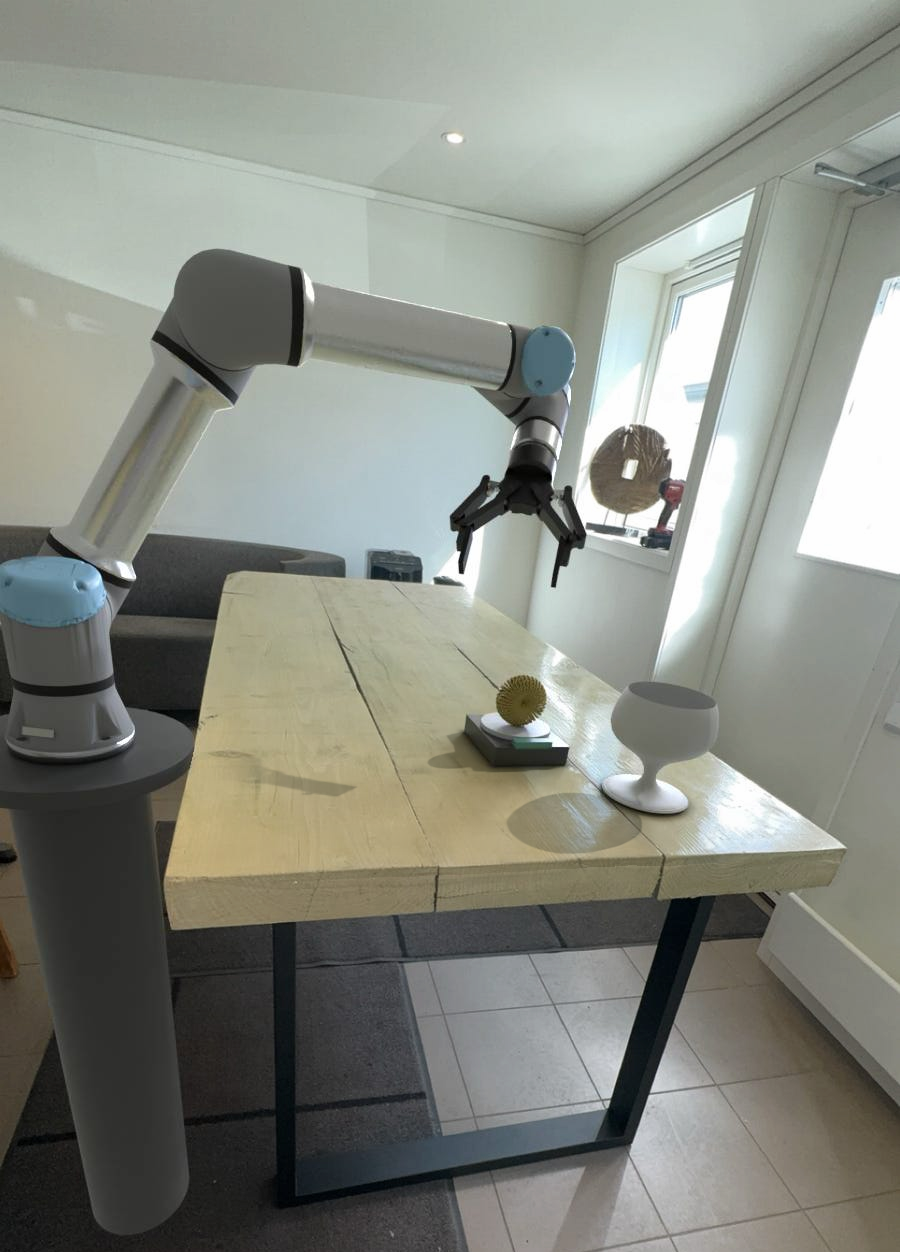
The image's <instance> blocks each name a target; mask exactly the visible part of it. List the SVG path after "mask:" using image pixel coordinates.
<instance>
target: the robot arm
mask: <svg viewBox="0 0 900 1252" xmlns="http://www.w3.org/2000/svg"><path fill="white" fill-rule="evenodd" d="M149 346H150V349H151V352H152V357H153V366H152V368H151V370H150V372H149V373H148V375H147V377H146V379H145V381H144V382H143V385H142V387H141V389H140V390H139V392H138V394H137V395H136V398H135V400H134V402H133V403H132V405H131V407H130V409H129V411H128V412H127V415H126V416H125V418H124V420H123V422H122V424H121V426H120V428H119V430H118V431H117V433H116V435H115V437H114V438H113V440H112V442H111V445H110V447H109V448H108V450H107V452H106V454H105V456H104V457H103V460H102V461H101V463H100V465H99V467H98V468H97V471H96V473H95V475H94V477H93V478H92V480H91V482H90V484H89V486H88V488H87V489H86V491H85V494H84V495H83V497H82V498H81V501H80V502H79V505H78V506H77V508H76V510H75V512H74V514H73V516H72V518H71V520H70V522H69V523H68V524H66V525H61V526H56V527H51V529H50V530H49V532H48V534H47V536H46V538H45V540H44V542H43V543H42V545H41V547H40V549H39V551H38V553H37V555H31V556H23V557H20V558H18V559H17V558H13V559H10V560H7V561H6V560H5V561H4V562H2V563H1V564H0V628H1V632H2V633H1V634H2V638H3V639H2V640H3V643H4V649H5V653H6V654H5V655H6V659H7V664H8V669H9V675H10V679H11V685H12V700H11V703H10V709H9V713H8V714H9V718H8V723H7V728H6V734H5V738H6V743H7V748H8V751H9V753H10V754H11V755H12V756H14V757H15V758H17V759H20V760H22V761H26V762H30V763H35V764H41V765H57V766H64V765H80V764H88V763H94V762H99V761H103V760H107V759H110V758H113V757H116V756H118V755H121V754H123V753H125V752H126V751H128V750H129V749H131V748H132V747H133V745H134V744H135V741H136V738H135V728H134V725H133V723H132V721H131V719H130V717H129V715H128V713H127V711H126V709H125V707H126V706H125V705H124V703H123V701H122V699H121V696H120V695H119V692H118V690H117V687H116V682H115V675H114V674H115V673H114V665H113V655H112V649H111V639H110V630H111V627H112V625H113V621H114V620H115V617H116V615H117V614H118V612H119V610H120V608H121V606H122V605H123V603H124V601H125V600H126V598H127V596H128V595H129V592H130V590H131V588H133V585H134V583H135V581H137V580H136V579H137V576H136V573H135V570H134V567H133V561H134V559H135V557H136V555H137V554H138V551H139V550H140V548H141V546H142V544H144V543H143V542H144V541H145V540H146V537H147V535H148V534H149V532H150V530H151V529H152V527H153V525H154V523H155V521H156V520H157V518H158V516H159V514H160V513H161V511H162V509H163V507H164V505H165V503H166V502H167V500H168V499H169V496H170V495H171V493H172V491H173V489H174V488H175V485H176V484H177V482H178V480H179V479H180V477H181V475H182V473H183V472H184V470H185V468H186V466H187V464H188V462H189V461H190V459H191V457H192V455H193V454H194V452H195V450H196V448H197V446H198V445H199V442H201V440H202V437H203V435H204V434H205V433H206V431H207V429H208V427H209V425H210V423H211V421H212V420H213V418H214V416H215V414H216V413H217V412H219V411H224V410H230V409H233V408H234V407H235V405H236V403H237V401H238V400H239V398H240V396H241V394H242V392H243V391H244V389H245V388H246V386H247V384H248V382H249V381H250V379H251V377H252V375H253V373H254V372H255V370H256V368H257V366H263V365H278V366H279V365H280V366H289V367H295V368H301V367H302V366H303V365H304V364H305V363H306V362H307V361H309V360H312V361H317V362H323V363H328V364H334V365H335V364H336V365H341V366H348V367H354V368H359V369H366V370H371V371H377V372H378V371H379V372H384V373H390V374H394V375H395V374H396V375H400V376H401V375H402V376H408V377H412V378H413V377H414V378H420V379H425V380H426V379H427V380H431V381H439V382H445V383H450V384H455V385H462V386H468V387H470V388H472V389H474V390H475V391H476V392H477V393H478V394H479V395H481V396H482V397H483V398H484V399H485V400H486V401H487V402H488V403H489V404H491V406H493V407H494V408H495V409H497V410H498V411H499V412H500V413H501V414H502V415H503V416H504V417H505V418H507V419H508V420H509V421H510V422H511V423H512V424H513V425H514V426H515V430H514V434H513V438H512V442H511V446H510V450H509V456H508V459H507V462H506V463H507V464H506V467H505V472H504V477H503V478H502V479H501V480H500V481H495V480H491V476H490V475H489V474H484V475H482V477H481V479H480V482H479V484H478V486H477V487H475V488H474V490H473V491H472V492H471V493H470V494H469V495H468V496H467V497H466V498H465V499H464V500H463V501H462V502H461V503H460V504H459V505H458V506H457V507H456V508H455V510H454V511H452V513H451V514H450V515H449V527H450V531H451V532H457V537H456V540H455V548H456V552H459V555H458V560H457V566H458V567H457V568H458V575H465V572H466V567H467V564H468V560H469V555H470V551H471V548H472V544H473V540H474V538H473V537H474V536H473V534H474V533H475V532H476V531H478V530H479V529H481V528H482V527H484V526H485V525H487V524H488V523H490V522H491V521H493V520H494V519H496V518H498V517H499V516H500V517H502V516H504V515H505V514H506V513H508V512H511V514H514V515H518V514H523V515H525V516H531V517H532V516H533V515H536V517H537V518H538V520H539V521H540V522H543V523H544V525H545V526H546V527H547V529H548V530H549V531H550V533H551V534H552V535H553V537H554V539H555V540H556V541H557V544H558V545H557V549H556V555H555V560H554V564H553V569H552V575H551V581H550V582H551V583H550V588H554V589H556V588H557V584H558V580H559V575H560V569H561V567H562V568H563V567H564V568H567V567H568V566H569V564H570V559H571V553H572V550H573V549H578V550H583V549H585V546H586V542H587V541H586V540H587V536H588V535H587V534H588V533H587V531H586V528H585V526H584V524H583V521H582V519H581V517H580V514H579V512H578V509H577V506H576V504H575V501H574V499H573V487H572V486H571V485H565V486H564V487H563V489H555V488H554V486H553V485H554V481H555V477H556V471H557V466H558V462H559V458H560V452H561V448H562V442H563V438H564V434H565V429H566V425H567V421H568V418H569V414H570V410H571V409H570V408H571V407H570V406H571V405H570V404H571V387H570V385H569V381H570V380H571V378H572V376H573V373H574V370H575V365H576V364H575V363H576V350H575V347H574V343H573V341H572V339H571V337H570V336H569V335H568V333H567V331H565V330H563V329H562V328H561V327H558V326H554V325H550V326H548V325H541V326H537V327H535V328H531V327H526V326H522V325H517V324H512V323H507V322H506V323H505V322H503V321H500V320H499V321H497V320H493V319H490V318H483V317H479V316H476V315H475V316H474V315H470V314H465V313H461V312H456V311H451V310H446V309H442V308H437V307H432V306H428V305H423V304H418V303H414V302H409V301H404V300H399V299H395V298H390V297H386V296H382V295H376V294H371V293H367V292H363V291H357V290H354V289H348V288H344V287H338V286H335V285H329V284H325V283H321V282H315V281H312V280H311V279H310V278H309V276H308V275H307V273H306V272H305V270H304V269H303V268H302V267H298V266H294V265H289V264H285V263H281V262H277V261H273V260H271V259H266V258H262V257H260V256H255V255H252V254H248V253H245V252H244V253H243V252H239V251H237V250H232V249H227V248H226V249H225V248H211V249H206V250H205V249H204V250H200V251H198V252H197V253H195V254H193V255H192V256H191V257H190V258H189V259H187V260H186V261H185V262H184V264H183V265H182V266H181V268H180V270H179V272H178V273H177V277H176V279H175V283H174V287H173V297H172V299H171V300H170V302H169V303H168V306H167V308H166V310H165V312H164V314H163V315H162V317H161V319H160V322H159V323H158V325H157V327H156V329H155V331H154V333H153V334H152V336H151V339H150V341H149ZM494 493H496V495H495V496H494V497H493V498H492V499H491V500H489V501H488V502H486V500H487V499H488V498H491V497H492V495H493V494H494ZM553 500H555V501H556V502H557V504H558V507H559V508H561V510H562V514H563V517H564V519H565V522H566V523H565V522H564V520H563V519H562V518H561V517H560V515H559V514H558V513H557V511H556V510H555V509H554V508H553V506H552V502H553ZM485 502H486V503H485Z"/></svg>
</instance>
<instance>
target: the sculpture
mask: <svg viewBox="0 0 900 1252" xmlns="http://www.w3.org/2000/svg"><path fill="white" fill-rule="evenodd" d="M546 691H547V690H546V689H545V687H544V685H543V684H542V682H541V681H539V679H537V678H535V677H534V676H531V675H529V674H527V675H526V674H518V675H514V676H511V677H510V678H509V679H506V681H505V682H503V684H502V685H501V686H500V688H499V689H498V690H497V693H496V697H495V708H496V710H497V711H496V712H498V713H499V715H500V717H501V718H502V719H503V720H505V721H506V722H508V723H509V724H512V725H515V726H516V725H517V726H524V725H528V724H529V723H532V720H533V721H535V720H536V719H535V718H534V716H535V717H536V718H537V719H540V717H541V716H542V714H543V713H544V712H545V709H546V705H547V700H548V698H547V692H546ZM504 714H505V715H504ZM533 715H534V716H533ZM539 716H540V717H539ZM510 719H511V720H510Z"/></svg>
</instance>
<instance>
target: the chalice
mask: <svg viewBox="0 0 900 1252" xmlns="http://www.w3.org/2000/svg"><path fill="white" fill-rule="evenodd" d="M719 712H720V711H719V707H718V704H717V702H716V700H715V699H713V698H712V697H711V696H709V695H707V694H705V693H704V692H701V691H698V690H695V689H692V688H689V687H687V686H681V685H677V684H672V683H667V682H660V681H659V682H658V681H635V682H632V683H630V684H628V685H627V686H626V687H625V688H624V690H623V691H622V692H621V693H620V695H619V697H618V699H617V700H616V703H615V705H614V707H613V710H612V711H611V714H610V715H611V716H610V727H611V731H612V733H613V735H614V737H615V738H616V739H617V740H618V742H619V743H621V744H622V745H623V746H624V747H625V748H627V749H628V750H629V751H631V752H632V753H633V754H634V755H636V757H638V758H639V760H640V761H641V764H642V766H643V773H642V775H641V774H633V773H632V774H631V773H622V774H621V773H620V774H615V775H611V776H609V777H606V778H605V779H604V780H603V781H602V782H601V788H602V790H603V792H604V793H605V794H606V795H607V796H608V797H610V798H611V799H612V800H614V801H616V802H617V803H619V804H622V805H624V806H626V807H629V808H631V809H634V810H639V811H643V812H647V813H653V814H676V813H681V812H682V811H685V810H686V809H687V808H688V807H689V800H688V798H687V796H686V795H685V794H684V793H683V792H682V791H681V790H680V789H678V788H677V787H675V786H673V785H672V784H670V783H668V782H666V781H662V780H660V779H657V775H658V773H659V772H660V770H661V769H662V768H664V767H666V766H668V765H671V764H675V763H680V762H686V761H690V760H694V759H697V758H700V757H703V756H704V755H705V754H707V753H708V752H709V751H711V750H712V748H713V747H714V745H715V744H716V741H717V739H718V734H719V726H720V725H719V724H720V715H719Z"/></svg>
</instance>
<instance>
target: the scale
mask: <svg viewBox="0 0 900 1252" xmlns="http://www.w3.org/2000/svg"><path fill="white" fill-rule="evenodd" d="M504 715H505V714H504ZM532 715H533V714H532ZM465 716H466V717H465V723H464V730H463V732H464V733H465V734H466V735H467V737H468V738H469V739H470V740H471V741H472V742H473V744H474V745H475V746H476V747H477V748H478V749H479V751H480V752H481V753H482V754H483V756H484V757H485V758H486V759H487V760H488V762H489V763H490V764H491V765H492V766H493V767H516V766H519V767H520V766H525V767H526V766H563V765H565V766H566V765H567V762H568V756H569V752H570V746H569V744H567V743H565V741H564V740H562V739H561V737H559V736H558V735H557V734H556V733H554V731H552V730H551V727H550V725H549V724H548V723H547V722H545V721H543V720H541V719H540V718H538V719H537V718H536V717H535V716H534V715H533V716H534V718H535V719H536V720H535V721H533V720H532V723H529V724H528V725H524V726H517V725H516V726H515V725H512V724H509V723H508V722H506V721H505V720H503V719H502V718H501V717H500V715H499V713H498V711H495V712H490V713H485V714H480V713H479V714H476V713H475V714H473V713H471V714H468V713H467V714H466V715H465ZM510 720H511V719H510Z"/></svg>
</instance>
